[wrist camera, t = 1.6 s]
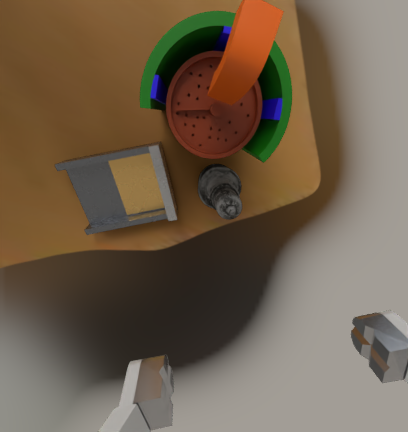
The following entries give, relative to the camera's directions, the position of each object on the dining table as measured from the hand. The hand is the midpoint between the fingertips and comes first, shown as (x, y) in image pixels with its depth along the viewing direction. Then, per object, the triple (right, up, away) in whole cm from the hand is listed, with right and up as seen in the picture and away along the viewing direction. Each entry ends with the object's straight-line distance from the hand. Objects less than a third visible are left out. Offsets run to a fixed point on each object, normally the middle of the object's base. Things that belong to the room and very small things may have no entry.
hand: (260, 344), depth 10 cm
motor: (-3, +20, +19) cm, 28 cm away
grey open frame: (-14, +10, +22) cm, 28 cm away
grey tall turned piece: (-1, +11, +24) cm, 26 cm away
